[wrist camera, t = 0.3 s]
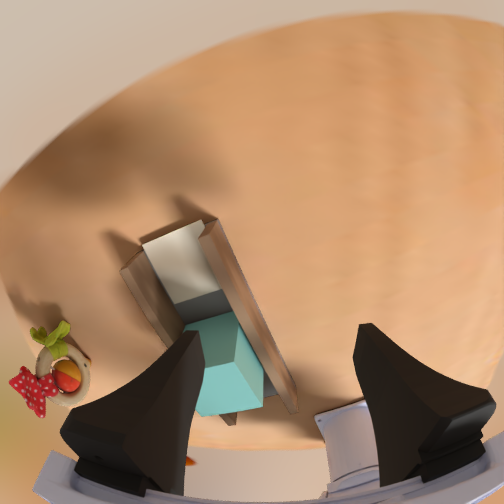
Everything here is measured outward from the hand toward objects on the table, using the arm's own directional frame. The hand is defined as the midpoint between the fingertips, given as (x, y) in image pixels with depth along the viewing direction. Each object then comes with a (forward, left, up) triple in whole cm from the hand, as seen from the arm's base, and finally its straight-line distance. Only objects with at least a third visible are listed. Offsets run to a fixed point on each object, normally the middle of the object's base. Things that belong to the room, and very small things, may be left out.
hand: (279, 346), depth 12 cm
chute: (-5, +6, -10) cm, 13 cm away
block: (-5, +6, -9) cm, 12 cm away
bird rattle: (-2, +24, -10) cm, 26 cm away
